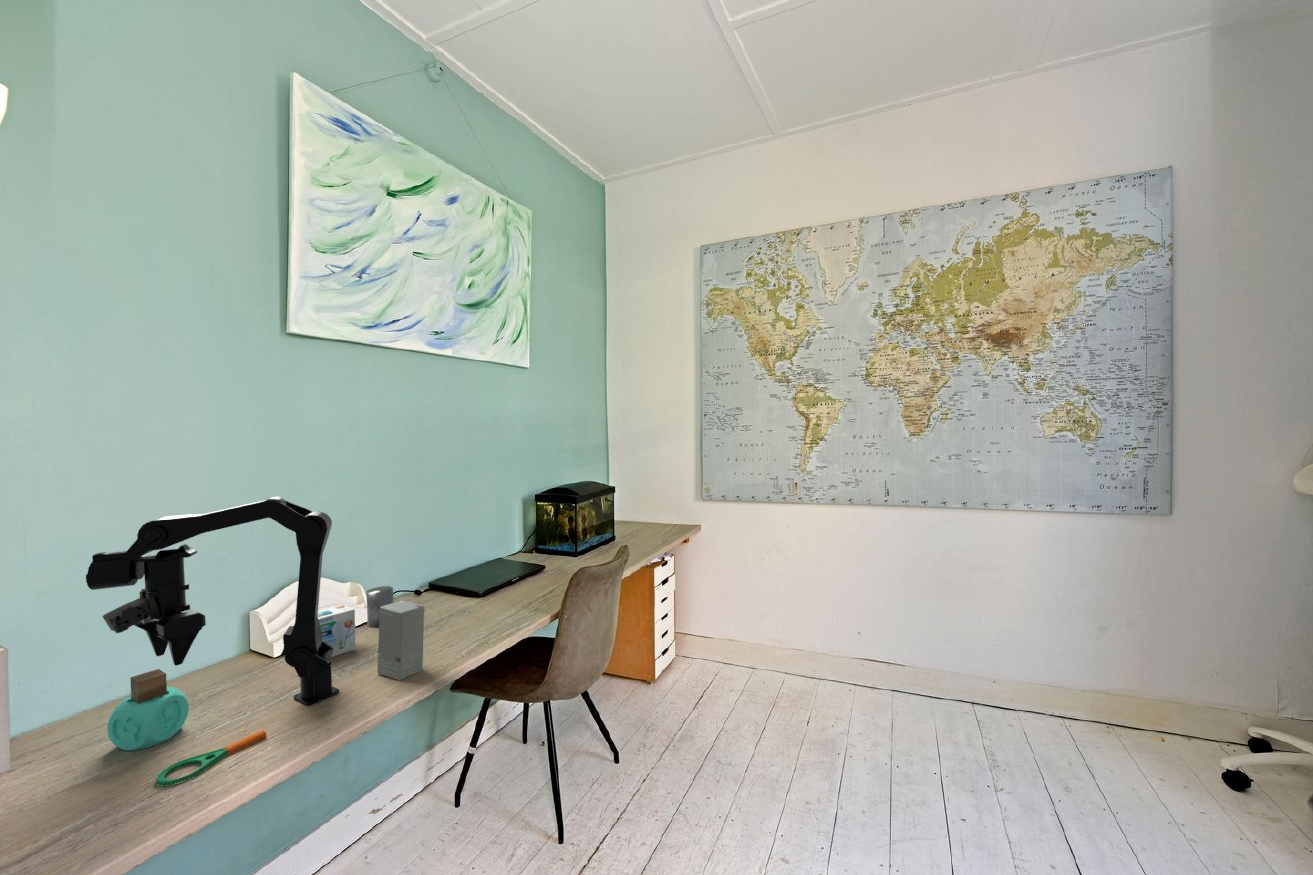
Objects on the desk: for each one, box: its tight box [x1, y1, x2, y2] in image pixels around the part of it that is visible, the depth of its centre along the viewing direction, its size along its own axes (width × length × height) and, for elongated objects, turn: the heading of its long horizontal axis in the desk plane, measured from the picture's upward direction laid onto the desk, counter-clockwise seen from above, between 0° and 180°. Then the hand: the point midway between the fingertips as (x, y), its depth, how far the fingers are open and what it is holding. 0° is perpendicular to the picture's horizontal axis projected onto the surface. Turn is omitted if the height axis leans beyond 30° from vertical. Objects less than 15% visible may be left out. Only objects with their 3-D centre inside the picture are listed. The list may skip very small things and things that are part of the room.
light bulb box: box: [318, 604, 356, 658], centre depth 136 cm, size 11×7×11 cm, turn 143°
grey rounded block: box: [366, 585, 394, 628], centre depth 156 cm, size 7×7×10 cm
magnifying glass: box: [155, 729, 267, 787], centre depth 92 cm, size 15×6×2 cm, turn 150°
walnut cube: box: [130, 668, 168, 704], centre depth 99 cm, size 4×4×4 cm
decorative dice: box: [106, 686, 190, 752], centre depth 99 cm, size 8×8×8 cm
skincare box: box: [377, 600, 425, 681], centre depth 124 cm, size 8×7×16 cm
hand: (169, 659), depth 103 cm, fingers open, 9 cm apart
